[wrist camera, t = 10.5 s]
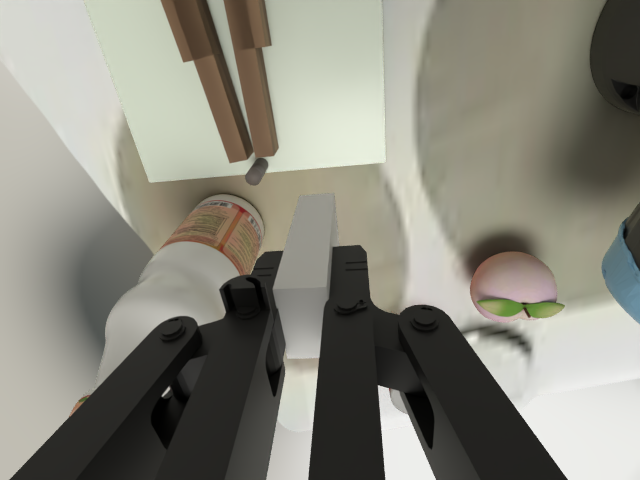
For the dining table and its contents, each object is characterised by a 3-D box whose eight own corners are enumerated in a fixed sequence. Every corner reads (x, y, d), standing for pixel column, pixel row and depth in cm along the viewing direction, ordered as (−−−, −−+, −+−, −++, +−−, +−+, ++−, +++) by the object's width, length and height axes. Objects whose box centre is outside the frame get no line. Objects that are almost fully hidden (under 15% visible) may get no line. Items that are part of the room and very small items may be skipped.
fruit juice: (280, 225, 46) (208, 437, 22) (237, 268, 50) (136, 489, 26) (220, 176, 44) (62, 359, 20) (180, 226, 48) (6, 429, 23)
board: (379, -66, 31) (380, -68, 31) (384, 159, 41) (385, 162, 40) (82, -19, 35) (75, -21, 34) (153, 179, 44) (149, 182, 44)
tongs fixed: (257, -45, 32) (245, -54, 28) (290, 168, 42) (285, 182, 38) (213, -38, 32) (195, -46, 29) (256, 171, 42) (246, 186, 38)
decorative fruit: (538, 230, 44) (584, 278, 36) (532, 283, 48) (572, 339, 40) (459, 239, 46) (484, 288, 37) (458, 291, 50) (482, 346, 41)
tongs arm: (195, -34, 32) (182, -39, 30) (253, 151, 40) (247, 159, 38) (165, -24, 33) (149, -29, 30) (228, 156, 41) (220, 165, 38)
